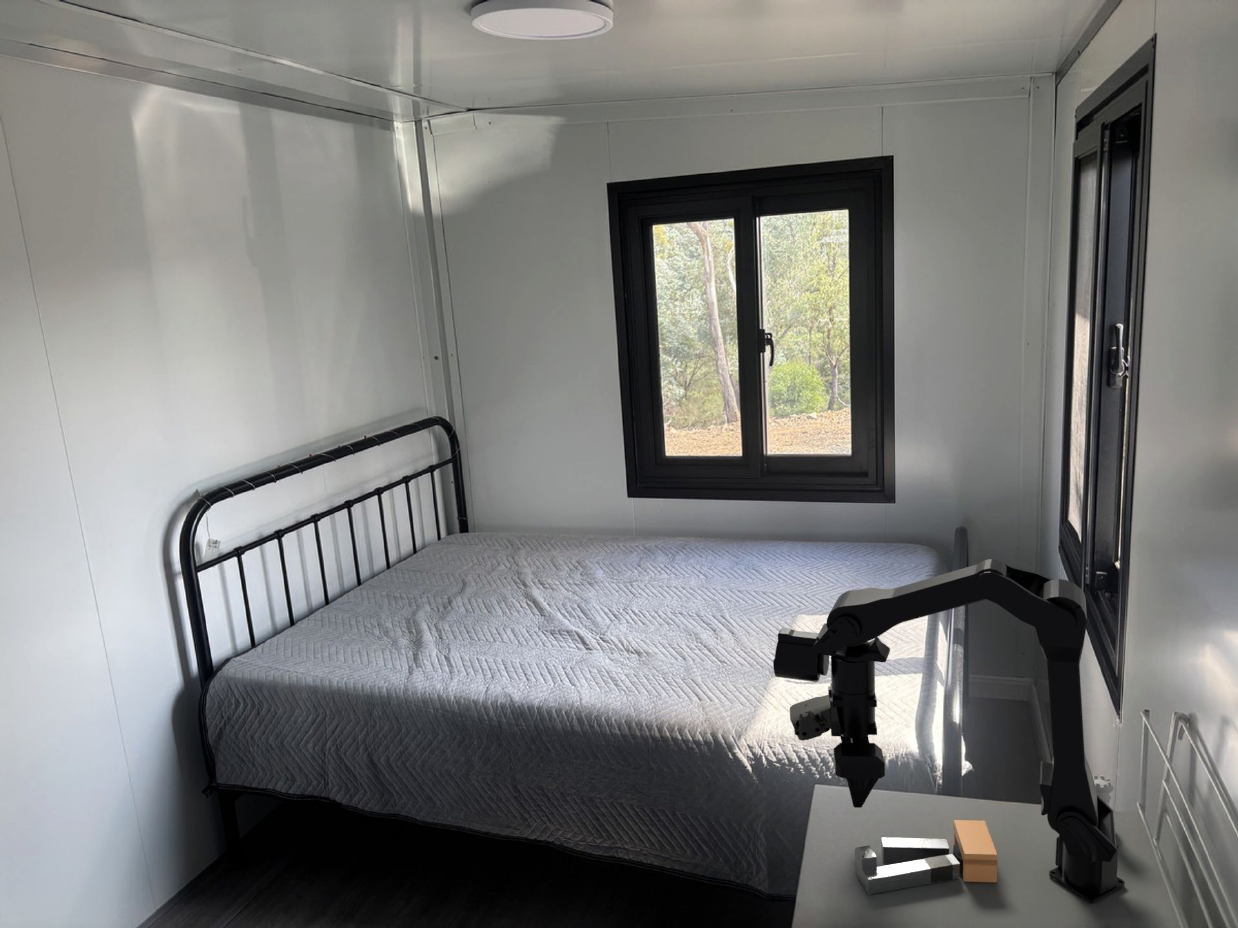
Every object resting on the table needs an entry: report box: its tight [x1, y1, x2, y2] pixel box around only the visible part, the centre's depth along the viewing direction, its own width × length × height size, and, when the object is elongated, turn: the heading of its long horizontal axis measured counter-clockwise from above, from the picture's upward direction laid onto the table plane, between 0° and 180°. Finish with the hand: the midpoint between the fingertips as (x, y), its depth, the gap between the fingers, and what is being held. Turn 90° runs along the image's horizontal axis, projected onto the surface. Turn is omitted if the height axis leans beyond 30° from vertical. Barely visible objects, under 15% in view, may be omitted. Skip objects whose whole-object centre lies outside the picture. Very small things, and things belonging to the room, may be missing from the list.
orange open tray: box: [952, 819, 998, 883], centre depth 126 cm, size 4×7×4 cm, turn 172°
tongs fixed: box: [881, 837, 963, 875], centre depth 128 cm, size 13×4×2 cm, turn 82°
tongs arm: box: [854, 844, 961, 895], centre depth 125 cm, size 12×4×4 cm, turn 99°
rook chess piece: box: [1092, 774, 1117, 834], centre depth 131 cm, size 4×4×8 cm
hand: (854, 787), depth 133 cm, fingers open, 9 cm apart
